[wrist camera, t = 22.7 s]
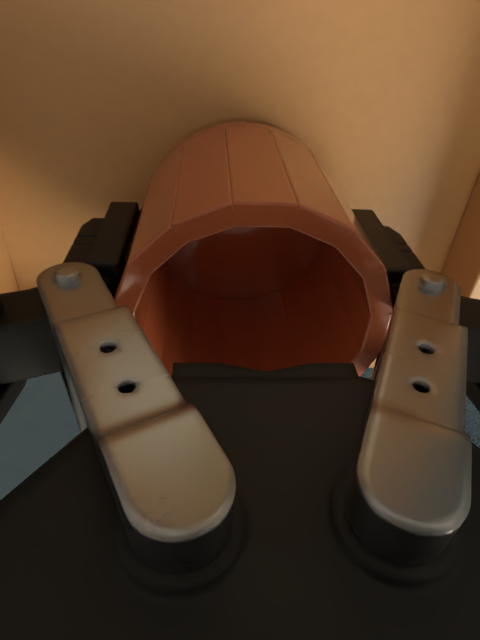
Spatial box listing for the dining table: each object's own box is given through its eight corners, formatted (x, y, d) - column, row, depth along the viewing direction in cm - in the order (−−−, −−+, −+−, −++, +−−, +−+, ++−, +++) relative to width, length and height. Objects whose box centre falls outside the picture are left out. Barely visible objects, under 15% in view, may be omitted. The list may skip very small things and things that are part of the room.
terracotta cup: (150, 299, 16) (127, 424, 11) (134, 116, 12) (92, 197, 8) (318, 301, 16) (358, 422, 12) (353, 125, 13) (429, 208, 8)
